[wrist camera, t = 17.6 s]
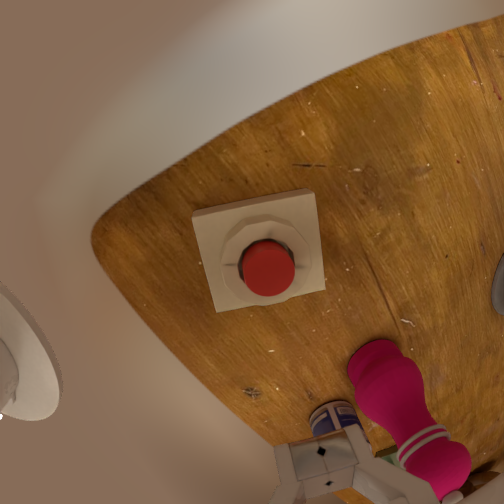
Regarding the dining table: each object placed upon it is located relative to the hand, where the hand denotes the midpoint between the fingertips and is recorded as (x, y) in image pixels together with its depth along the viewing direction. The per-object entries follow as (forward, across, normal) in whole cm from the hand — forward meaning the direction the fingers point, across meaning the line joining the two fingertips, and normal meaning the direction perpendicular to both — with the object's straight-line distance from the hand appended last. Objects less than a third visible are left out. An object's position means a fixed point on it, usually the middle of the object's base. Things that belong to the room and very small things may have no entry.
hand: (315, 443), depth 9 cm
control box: (+18, -1, -1) cm, 18 cm away
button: (+14, -1, -1) cm, 14 cm away
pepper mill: (+18, -11, +15) cm, 26 cm away
